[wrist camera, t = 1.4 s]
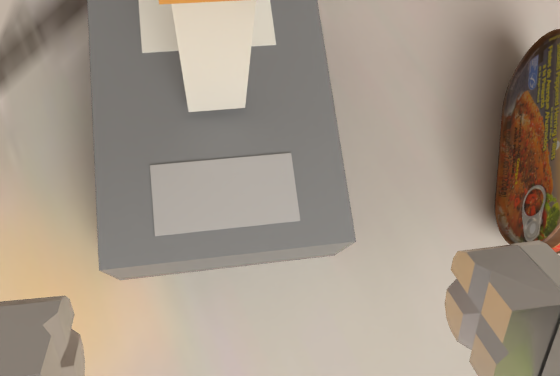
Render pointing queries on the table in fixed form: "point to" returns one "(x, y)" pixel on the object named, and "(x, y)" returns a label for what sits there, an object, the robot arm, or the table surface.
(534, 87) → the tin
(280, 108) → the switch box
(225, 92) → the breaker lever
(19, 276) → the table surface
